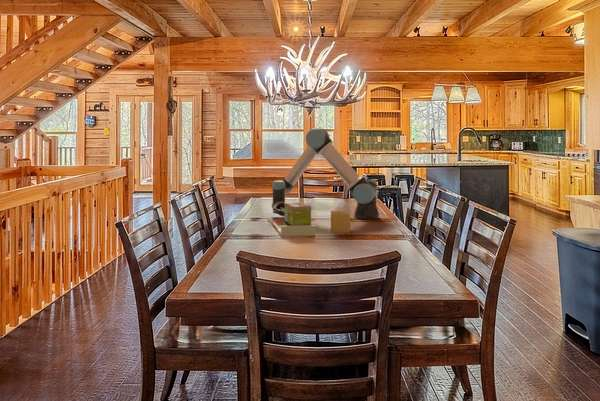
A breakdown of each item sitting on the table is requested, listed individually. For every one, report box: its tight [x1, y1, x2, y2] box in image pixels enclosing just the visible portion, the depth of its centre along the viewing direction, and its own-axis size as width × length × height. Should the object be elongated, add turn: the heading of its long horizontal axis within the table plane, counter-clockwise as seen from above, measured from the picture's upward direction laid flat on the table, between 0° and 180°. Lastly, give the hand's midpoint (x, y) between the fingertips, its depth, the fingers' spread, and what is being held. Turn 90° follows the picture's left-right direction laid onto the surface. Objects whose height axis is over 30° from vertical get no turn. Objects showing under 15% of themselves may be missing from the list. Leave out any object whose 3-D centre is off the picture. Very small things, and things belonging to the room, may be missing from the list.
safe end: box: [276, 224, 316, 237], centre depth 262 cm, size 17×14×5 cm
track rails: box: [267, 217, 281, 231], centre depth 287 cm, size 17×38×2 cm, turn 11°
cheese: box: [330, 210, 351, 234], centre depth 269 cm, size 10×11×10 cm
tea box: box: [284, 202, 312, 226], centre depth 264 cm, size 15×10×15 cm, turn 18°
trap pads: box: [272, 218, 285, 225], centre depth 299 cm, size 13×13×1 cm
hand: (288, 214), depth 282 cm, fingers closed
